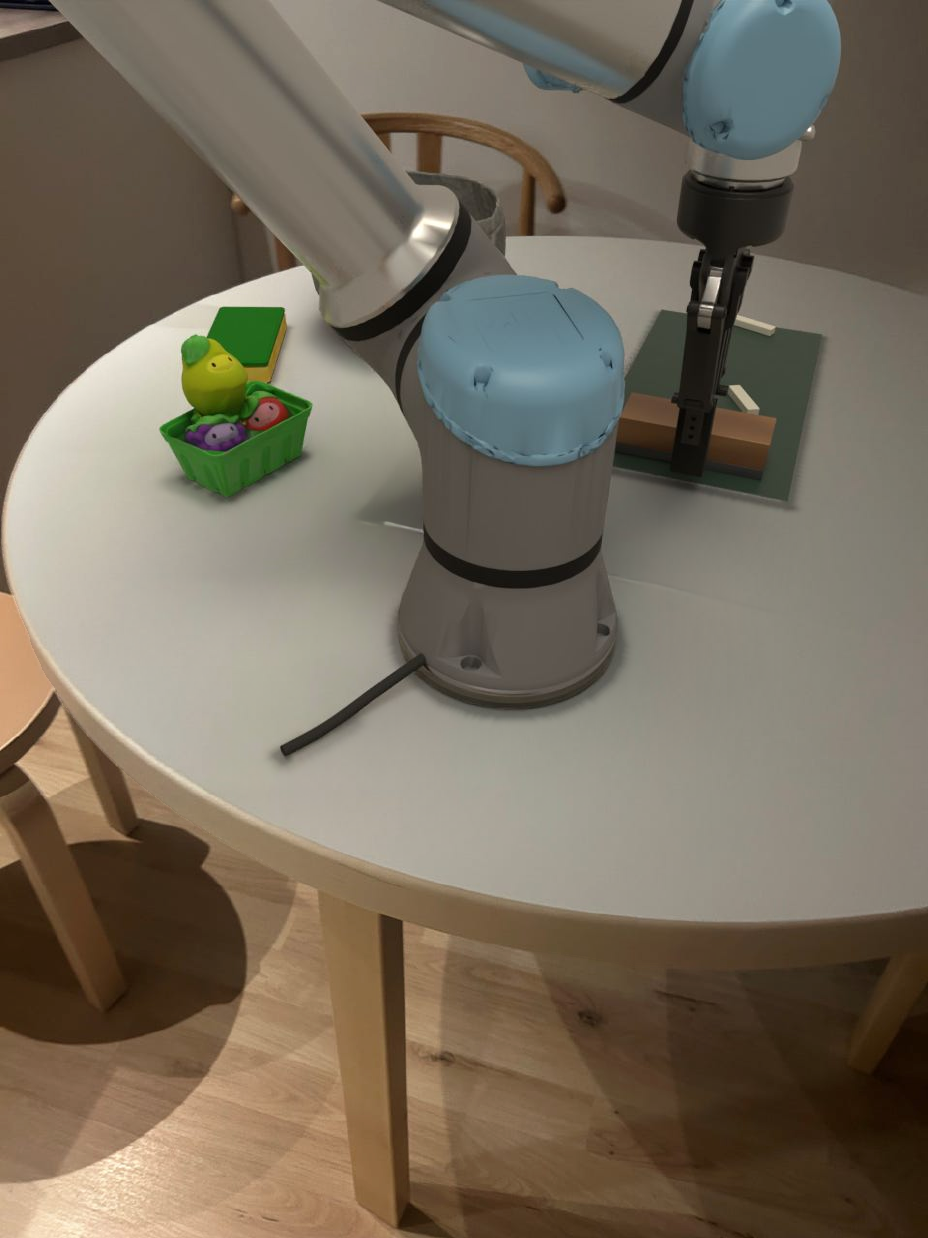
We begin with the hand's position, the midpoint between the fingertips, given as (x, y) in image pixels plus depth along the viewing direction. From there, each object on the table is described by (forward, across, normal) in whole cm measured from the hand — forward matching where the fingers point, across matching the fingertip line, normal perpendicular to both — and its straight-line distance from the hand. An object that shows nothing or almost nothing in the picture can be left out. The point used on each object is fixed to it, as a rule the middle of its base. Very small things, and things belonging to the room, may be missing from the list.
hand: (687, 469), depth 81 cm
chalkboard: (+2, +19, +1) cm, 19 cm away
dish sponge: (+2, +9, +48) cm, 49 cm away
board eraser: (+2, +6, 0) cm, 6 cm away
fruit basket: (+2, -10, +37) cm, 39 cm away
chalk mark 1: (+2, +17, -2) cm, 17 cm away
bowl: (+2, +20, +35) cm, 40 cm away
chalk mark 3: (+2, +36, -1) cm, 36 cm away
